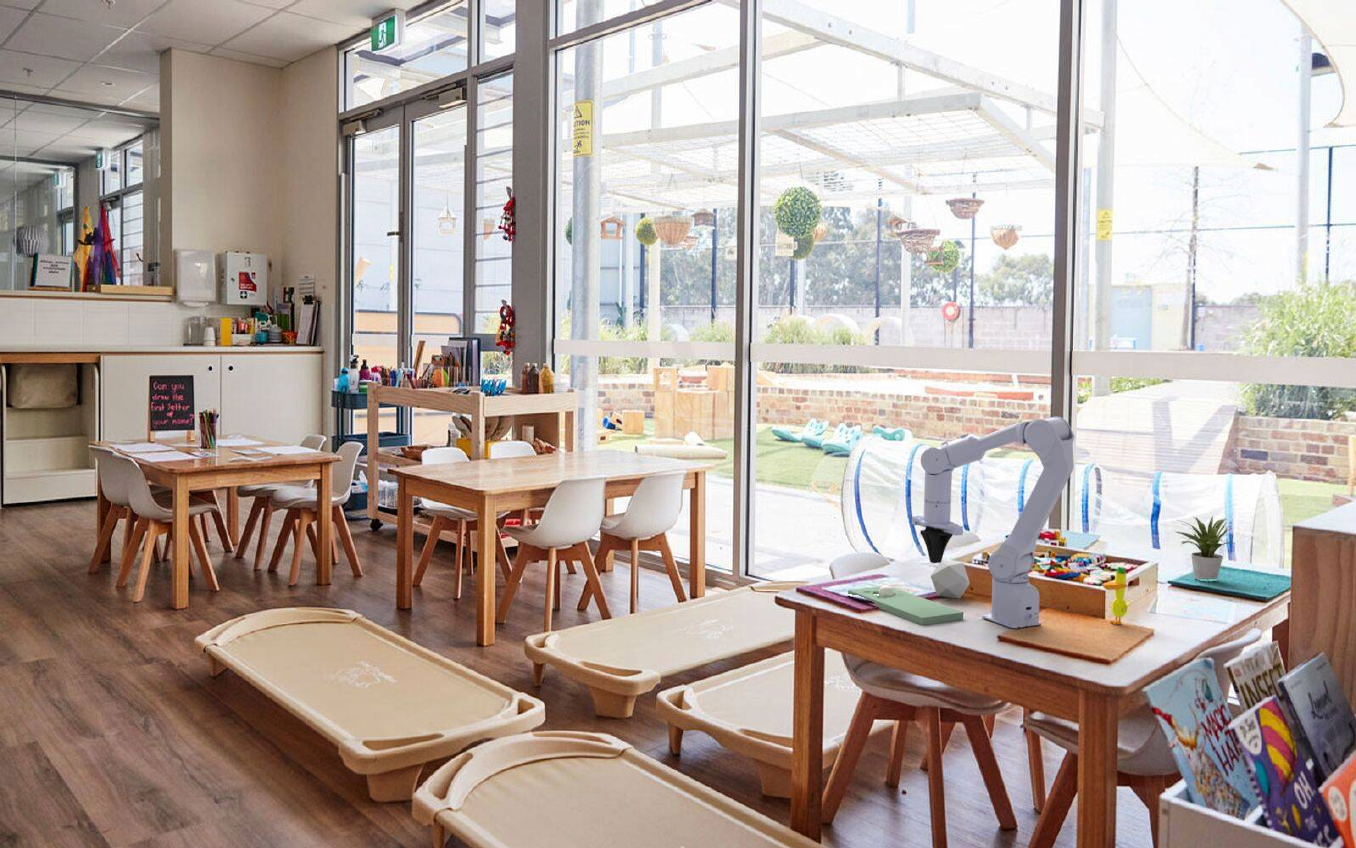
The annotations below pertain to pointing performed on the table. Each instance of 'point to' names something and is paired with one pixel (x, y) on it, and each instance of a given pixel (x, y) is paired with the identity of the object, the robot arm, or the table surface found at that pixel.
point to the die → (950, 579)
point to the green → (910, 606)
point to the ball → (886, 591)
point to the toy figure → (1118, 594)
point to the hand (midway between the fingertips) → (935, 562)
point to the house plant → (1206, 549)
